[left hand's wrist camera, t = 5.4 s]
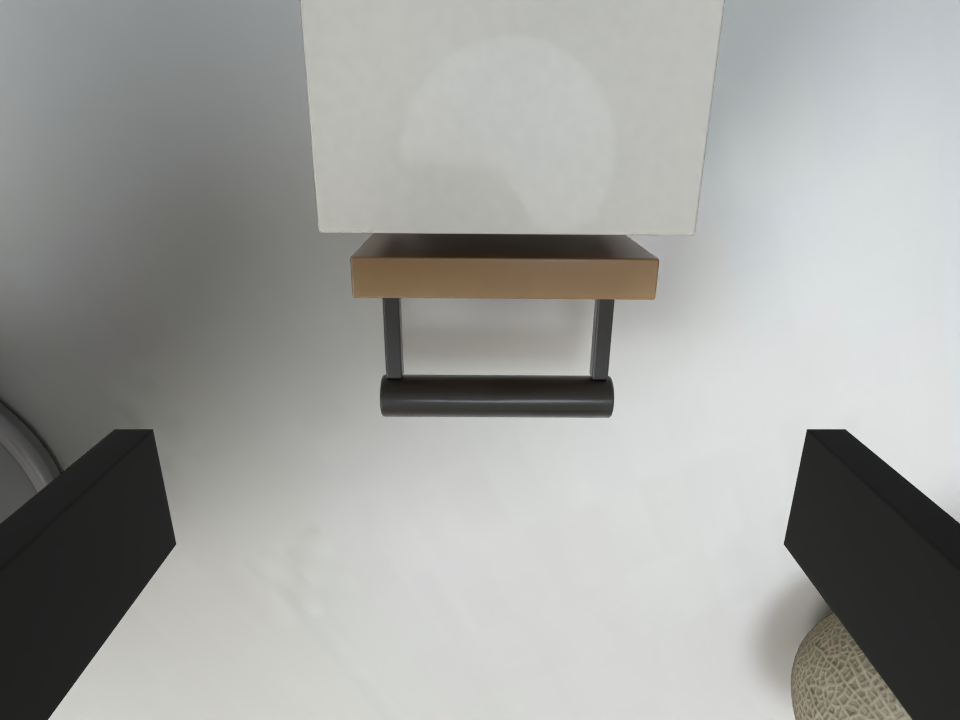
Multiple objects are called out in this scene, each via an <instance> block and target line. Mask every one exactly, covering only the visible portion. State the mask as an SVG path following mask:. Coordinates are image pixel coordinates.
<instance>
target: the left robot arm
mask: <svg viewBox="0 0 960 720" xmlns="http://www.w3.org/2000/svg"><path fill="white" fill-rule="evenodd" d="M175 545H176V541H175V536H174V531H173V526H172V521H171V516H170V511H169V506H168V501H167V496H166V492H165V487H164V482H163V477H162V472H161V467H160V462H159V457H158V452H157V447H156V442H155V437H154V432H153V429H115V430H113V431H112V432H111V433H110V434H109V435H107V436H106V437H105V438H104V439H102V440H101V441H100V442H99V443H98V444H96V445H95V446H94V447H93V448H92V449H90V450H89V451H88V452H87V453H85V454H84V455H83V456H82V457H81V458H79V459H78V460H77V461H76V462H75V463H73V464H72V465H71V466H70V467H68V468H67V469H66V470H65V471H64V472H62V473H61V474H60V472H59V470H58V468H57V466H56V464H55V462H54V461H53V459H52V458H51V456H50V455H49V453H48V451H47V450H46V449H45V447H44V446H43V445H42V443H41V442H40V441H39V439H38V438H37V437H36V436H35V435H34V434H33V432H32V431H31V430H30V429H29V428H28V427H27V426H26V425H25V424H24V423H23V422H22V421H21V420H20V419H19V418H18V417H17V416H16V415H15V414H14V413H12V412H11V411H10V410H9V409H8V408H6V407H5V406H4V405H3V404H1V403H0V720H48V719H49V717H50V716H51V715H52V713H53V712H54V711H55V709H56V708H57V706H58V705H59V704H60V702H61V701H62V700H63V698H64V697H65V696H66V694H67V693H68V691H69V690H70V689H71V687H72V686H73V685H74V683H75V682H76V680H77V679H78V678H79V676H80V675H81V674H82V672H83V671H84V670H85V668H86V667H87V665H88V664H89V663H90V661H91V660H92V659H93V657H94V656H95V654H96V653H97V652H98V650H99V649H100V648H101V646H102V645H103V644H104V642H105V641H106V639H107V638H108V637H109V635H110V634H111V633H112V631H113V630H114V629H115V627H116V626H117V624H118V623H119V622H120V620H121V619H122V618H123V616H124V615H125V613H126V612H127V611H128V609H129V608H130V607H131V605H132V604H133V603H134V601H135V600H136V598H137V597H138V596H139V594H140V593H141V592H142V590H143V589H144V587H145V586H146V585H147V583H148V582H149V581H150V579H151V578H152V577H153V575H154V574H155V572H156V571H157V570H158V568H159V567H160V566H161V564H162V563H163V562H164V560H165V559H166V557H167V556H168V555H169V553H170V552H171V551H172V549H173V548H174V546H175ZM784 545H785V546H786V548H787V549H788V551H789V552H790V553H791V555H792V556H793V557H794V559H795V560H796V562H797V563H798V564H799V566H800V567H801V568H802V570H803V571H804V572H805V574H806V575H807V577H808V578H809V579H810V581H811V582H812V583H813V585H814V586H815V587H816V589H817V590H818V592H819V593H820V594H821V596H822V597H823V598H824V600H825V601H826V603H827V604H828V605H829V607H830V608H831V609H832V611H833V612H834V613H835V615H836V616H837V618H838V619H839V620H840V622H841V623H842V624H843V626H844V627H845V629H846V630H847V631H848V633H849V634H850V635H851V637H852V638H853V639H854V641H855V642H856V644H857V645H858V646H859V648H860V649H861V650H862V652H863V653H864V654H865V656H866V657H867V659H868V660H869V661H870V663H871V664H872V665H873V667H874V668H875V670H876V671H877V672H878V674H879V675H880V676H881V678H882V679H883V680H884V682H885V683H886V685H887V686H888V687H889V689H890V690H891V691H892V693H893V694H894V696H895V697H896V698H897V700H898V701H899V702H900V704H901V705H902V706H903V708H904V709H905V711H906V712H907V713H908V715H909V716H910V717H911V719H912V720H960V523H958V522H957V521H956V520H955V519H953V518H952V517H951V516H950V515H949V514H947V513H946V512H945V511H944V510H943V509H941V508H940V507H939V506H938V505H936V504H935V503H934V502H933V501H932V500H930V499H929V498H928V497H927V496H926V495H924V494H923V493H922V492H921V491H919V490H918V489H917V488H916V487H915V486H913V485H912V484H911V483H910V482H909V481H907V480H906V479H905V478H904V477H902V476H901V475H900V474H899V473H898V472H896V471H895V470H894V469H893V468H892V467H890V466H889V465H888V464H887V463H885V462H884V461H883V460H882V459H881V458H879V457H878V456H877V455H876V454H875V453H873V452H872V451H871V450H870V449H868V448H867V447H866V446H865V445H864V444H862V443H861V442H860V441H859V440H858V439H856V438H855V437H854V436H853V435H851V434H850V433H849V432H848V431H847V430H845V429H807V432H806V437H805V442H804V447H803V452H802V457H801V462H800V467H799V472H798V477H797V482H796V487H795V492H794V496H793V501H792V506H791V511H790V516H789V521H788V526H787V531H786V536H785V541H784Z"/></svg>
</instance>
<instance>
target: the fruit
mask: <svg viewBox="0 0 960 720" xmlns="http://www.w3.org/2000/svg"><path fill="white" fill-rule="evenodd" d="M791 694H792V704H793V710H794V715H795V720H912V719H911V717H910V716H909V715H908V713H907V712H906V711H905V709H904V708H903V706H902V705H901V704H900V702H899V701H898V700H897V698H896V697H895V696H894V694H893V693H892V691H891V690H890V689H889V687H888V686H887V685H886V683H885V682H884V680H883V679H882V678H881V676H880V675H879V674H878V672H877V671H876V670H875V668H874V667H873V665H872V664H871V663H870V661H869V660H868V659H867V657H866V656H865V654H864V653H863V652H862V650H861V649H860V648H859V646H858V645H857V644H856V642H855V641H854V639H853V638H852V637H851V635H850V634H849V633H848V631H847V630H846V629H845V627H844V626H843V624H842V623H841V622H840V620H839V619H838V618H837V616H836V615H835V613H832V614H830V615H829V616H827V617H826V618H824V619H823V620H822V621H820V622H819V623H818V624H817V625H816V626H815V627H814V628H813V629H812V630H811V631H810V632H809V633H808V634H807V635H806V637H805V638H804V640H803V641H802V643H801V644H800V646H799V649H798V651H797V654H796V656H795V660H794V663H793V667H792V674H791Z"/></svg>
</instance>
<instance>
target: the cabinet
mask: <svg viewBox="0 0 960 720" xmlns="http://www.w3.org/2000/svg"><path fill="white" fill-rule="evenodd" d="M724 1H725V0H300V5H301V17H302V30H303V42H304V54H305V67H306V79H307V91H308V103H309V116H310V128H311V140H312V153H313V165H314V177H315V190H316V202H317V214H318V227H319V231H320V232H322V233H434V234H568V235H694V233H695V229H696V221H697V213H698V205H699V197H700V189H701V182H702V174H703V166H704V158H705V150H706V142H707V135H708V127H709V119H710V111H711V103H712V95H713V88H714V80H715V72H716V64H717V56H718V48H719V41H720V33H721V25H722V17H723V9H724Z"/></svg>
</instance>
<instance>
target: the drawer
mask: <svg viewBox="0 0 960 720" xmlns="http://www.w3.org/2000/svg"><path fill="white" fill-rule="evenodd" d="M350 262H351V277H352V293H353V297H355V298H383V317H384V338H385V359H386V375H383V377H382V380H381V387H380V407H381V413H382V415H383V416H385V417H579V418H609V417H611V415H612V412H613V407H614V388H613V382H612V379H611V377H609V376H608V368H609V357H610V345H611V333H612V322H613V310H614V299H640V300H653V299H655V295H656V286H657V277H658V267H659V259H658V258H656V257H655V256H653V255H652V254H651V253H649V252H648V251H647V250H645V249H644V248H642V247H641V246H640V245H638V244H637V243H636V242H634V241H633V240H631V239H630V238H629V237H627V236H626V235H568V234H434V233H374V234H373V235H372V236H371V237H370V238H369V239H368V240H367V241H366V242H365V243H364V244H363V245H362V246H361V247H360V248H359V249H358V250H357V251H356V252H355V253H354V254H353V255H352V256H351V258H350ZM401 298H489V299H595V309H594V322H593V336H592V349H591V362H590V375H591V376H538V375H403V373H404V367H403V340H402V313H401Z"/></svg>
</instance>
